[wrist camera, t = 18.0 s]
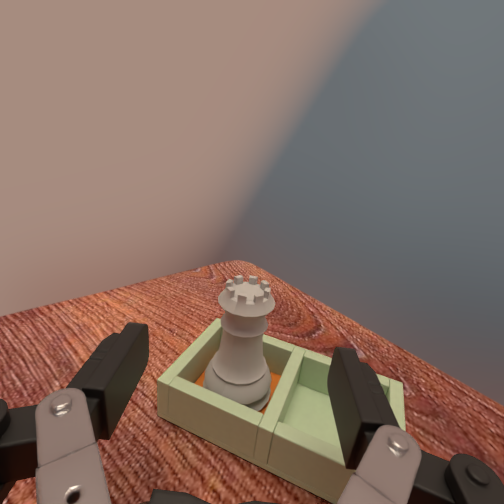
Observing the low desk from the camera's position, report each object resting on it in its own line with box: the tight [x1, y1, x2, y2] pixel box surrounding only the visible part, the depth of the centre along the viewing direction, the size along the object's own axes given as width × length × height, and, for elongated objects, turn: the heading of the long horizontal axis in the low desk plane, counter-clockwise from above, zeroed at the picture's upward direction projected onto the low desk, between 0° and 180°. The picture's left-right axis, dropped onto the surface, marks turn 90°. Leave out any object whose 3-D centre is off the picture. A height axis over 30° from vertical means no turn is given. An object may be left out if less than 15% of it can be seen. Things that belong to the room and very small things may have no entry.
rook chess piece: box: [203, 275, 275, 411], centre depth 19 cm, size 4×4×8 cm
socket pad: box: [157, 318, 406, 504], centre depth 19 cm, size 13×7×3 cm, turn 67°
